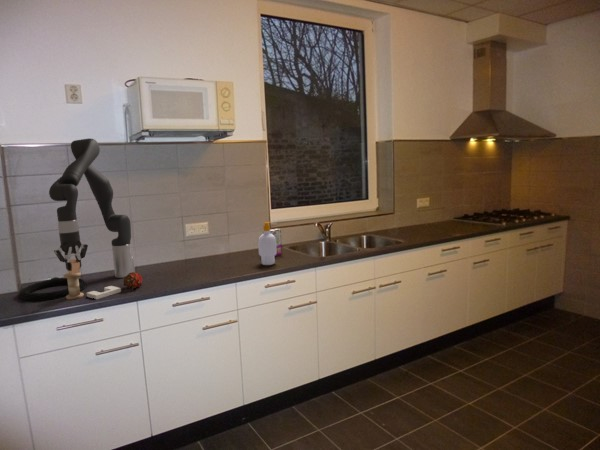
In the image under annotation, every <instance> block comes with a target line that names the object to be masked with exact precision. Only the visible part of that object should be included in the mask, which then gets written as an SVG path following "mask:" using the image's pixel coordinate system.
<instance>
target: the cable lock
mask: <svg viewBox="0 0 600 450" xmlns="http://www.w3.org/2000/svg"><path fill="white" fill-rule="evenodd" d="M78 279H79V288H80V292H82V291H83V290H84V289H85V288H86V285H87V283H86V281H85V280H84V279H82V278H78ZM65 285H66V286H68V281H67V278H64V277H57V276H55V277H52V278H50V279H47V280H43V281H40V282H39V281H38V282H36V283H32V284H29V285H27V286H26V287H24V288H22V289H21V290H20V291H19V292H18V293H19V294H18V295H19V298H21V300H25V301H26V302H27V301H28V302H29V301H31V302H41V301H51V300H54V299H62V298H66V296H67V295H69V289H68V288H64V289H61V290H55V291H48V292H36V291H38V290H42V289H46V288H52V287H56V286H57V287H58V286H65Z"/></svg>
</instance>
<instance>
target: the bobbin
mask: <svg viewBox="0 0 600 450" xmlns="http://www.w3.org/2000/svg"><path fill="white" fill-rule="evenodd" d="M81 275H82V272H81V271H80V273H76V274H70V273H69V272H67V273H64V274H63V278H67V281H68V285H67V287H68V289H69V295H67V296H65V298H66V300H68V301H69V300H71V301H72V300H73V301H74V300H77V299H81V298H83V297H85V296H84V295H85V294H84V292H81V291H80V288H79V279H80V278H79V277H80V276H81Z"/></svg>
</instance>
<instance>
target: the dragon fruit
mask: <svg viewBox="0 0 600 450" xmlns="http://www.w3.org/2000/svg"><path fill="white" fill-rule="evenodd" d="M143 280H144V279H143V276H142V275H141V274H140V273H138V272H136V271H135V272H132V273H129V274H128V275H127V276H125V277H123V284H122V285H123V286H124V287H127V288H128V289H132V290H135V289H136V288H141V287H142V282H143Z"/></svg>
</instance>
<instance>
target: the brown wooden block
mask: <svg viewBox="0 0 600 450" xmlns="http://www.w3.org/2000/svg"><path fill="white" fill-rule="evenodd" d="M70 262H71V263H70V264H71V271H68V270H67V269H66V272H67V273H70V274H76V273H80V272H81V268H80V262H79V261H77V260H76V258H73V259H70Z"/></svg>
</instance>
